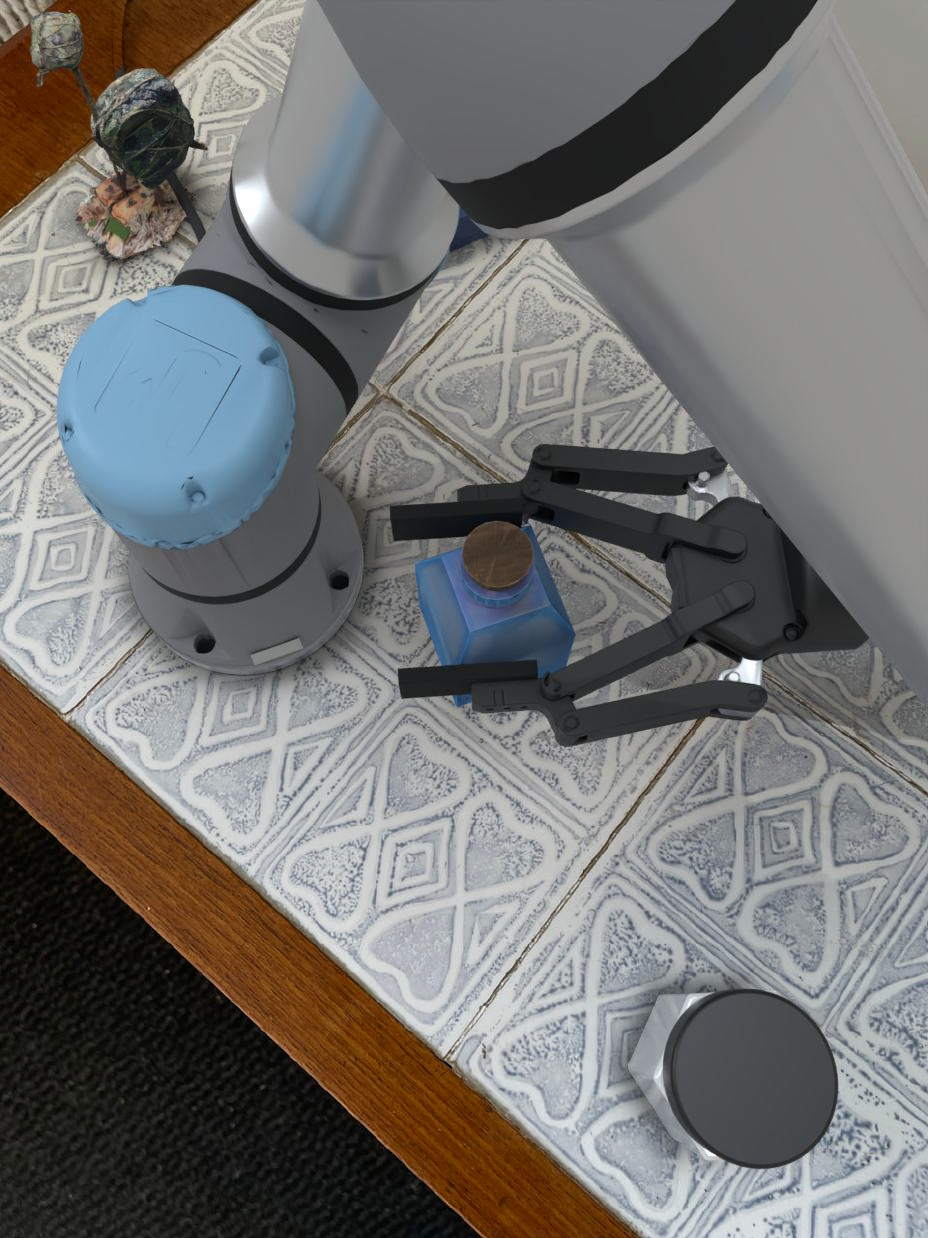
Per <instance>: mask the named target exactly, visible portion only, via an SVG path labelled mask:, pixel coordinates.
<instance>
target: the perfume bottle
mask: <svg viewBox="0 0 928 1238" xmlns="http://www.w3.org/2000/svg"><path fill="white" fill-rule="evenodd" d="M414 572H415V580H416V581H415V582H416V589H417V598H418V606H419V608H420V611H421V614H422V616H423V620H424V622H425V625H426V627H427V631H428V634H429V636H430V639H431V642H432V645H433V647H434V650H435V652H436V654H437V658H438V660H439V663H440V666H444V665H460V664H475V663H491V662H506V661H522V660H537V667H538V678H543V676H544V674H545V673H546V672H548V671H549V672H550V674H551V673H553V672H555V671H558V670H560V669H562V668H564V667H566V666H568V663H569V659H570V656H571V653H572V648H573V645H574V642H575V639H576V637H577V634H576V632H575V629H574V626H573V625H572V622H571V618H570V617H569V614H568V612H567V609H566V606H565V604H564V602H563V600H562V597H561V595H560V592H559V590H558V587H557V585H556V582H555V580H554V577H553V575H552V572H551V570H550V568H549V566H548V563H547V560H546V558H545V556H544V553H543V550H542V548H541V545H540V543H539V541H538V539H537V535H536V534H535V531H534V529H533V526H532V524H527V525H525V526H523V527H522V526H521V528H518V527H517V526H515V525H512V524H510V523H508V522H501V521H493V522H488V523H484V524H482V525H480V526H478V527H476V528H475V529H474V530H473V531H472V532H471V533H470V534H469V535H468V537H466V539H465V540H464V542H463V545H462V546H461V547H458V548H456V549H452V550H449V551H447V552H446V551H445V552H444V553H440V554H437V555H434V556H431V557H428V558H425V559H421V560H419V561H416V562H414ZM452 699H453V702H454V704H455V707H456V708H457V709H458V708H460V707H463V706H466V705H469V704H472V700H471V694H469V695H453V696H452Z"/></svg>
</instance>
